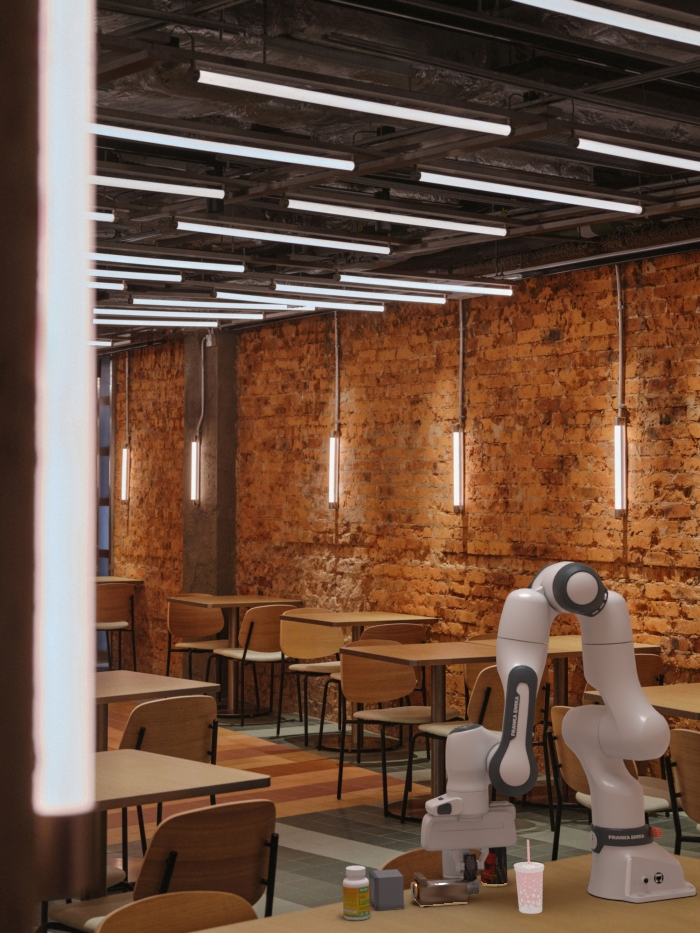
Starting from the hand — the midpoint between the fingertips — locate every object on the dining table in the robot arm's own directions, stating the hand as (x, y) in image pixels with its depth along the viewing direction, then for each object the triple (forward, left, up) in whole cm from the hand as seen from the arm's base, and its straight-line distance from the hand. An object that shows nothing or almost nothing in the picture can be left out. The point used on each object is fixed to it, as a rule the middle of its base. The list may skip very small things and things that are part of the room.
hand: (470, 870), depth 255 cm
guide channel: (+7, 0, -6) cm, 9 cm away
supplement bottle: (+26, +7, -6) cm, 27 cm away
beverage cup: (-9, +11, -6) cm, 16 cm away
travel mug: (-1, -17, -6) cm, 18 cm away
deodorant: (-8, -12, -6) cm, 16 cm away
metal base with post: (+5, 0, -5) cm, 7 cm away
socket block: (+18, 0, -6) cm, 19 cm away
